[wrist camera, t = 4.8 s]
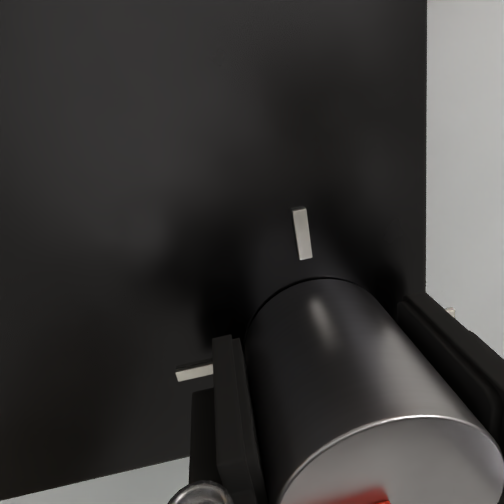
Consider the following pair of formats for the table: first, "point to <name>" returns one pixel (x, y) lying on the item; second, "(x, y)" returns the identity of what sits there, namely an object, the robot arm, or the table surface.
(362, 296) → the knob
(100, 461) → the hot plate
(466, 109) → the table surface
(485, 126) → the table surface
